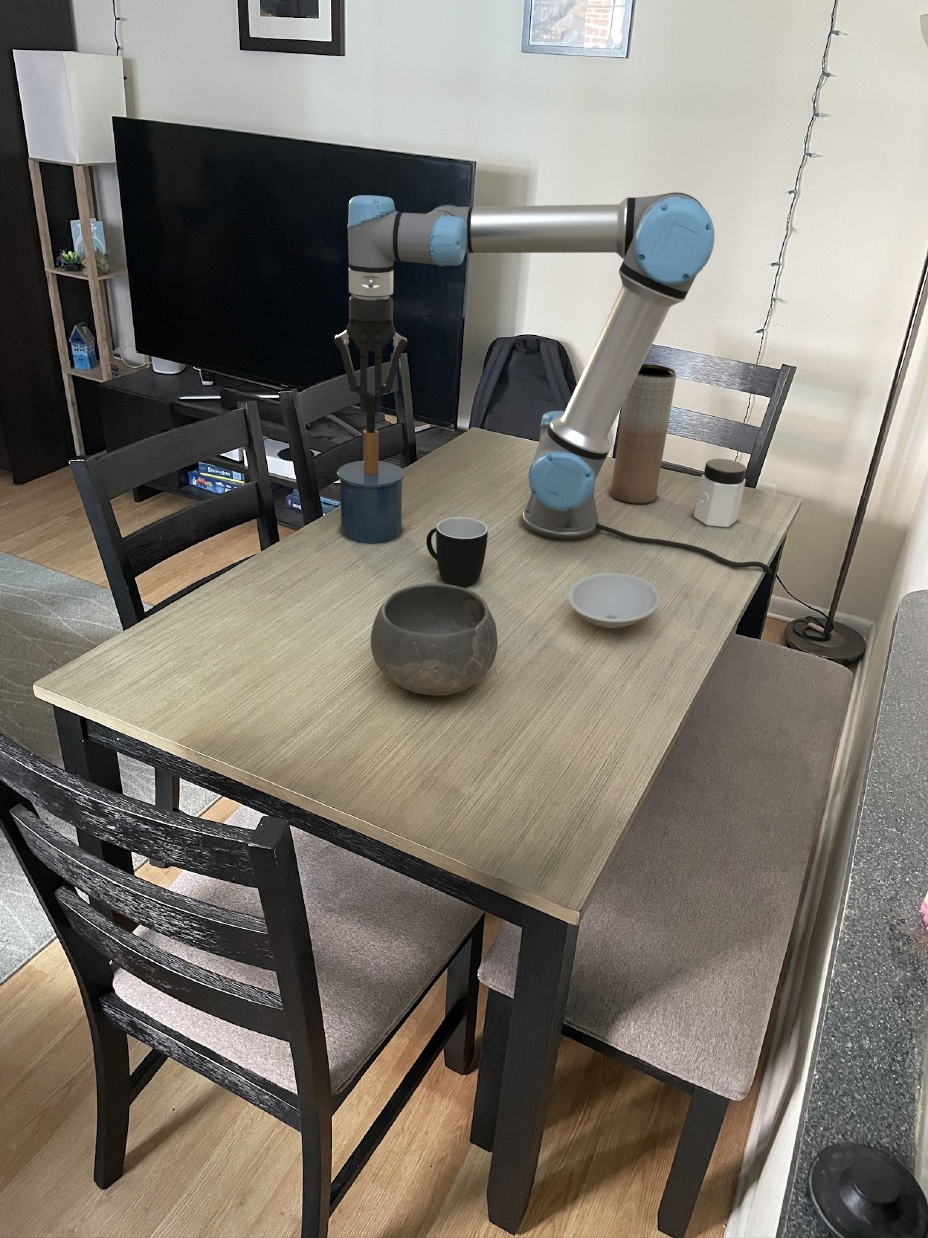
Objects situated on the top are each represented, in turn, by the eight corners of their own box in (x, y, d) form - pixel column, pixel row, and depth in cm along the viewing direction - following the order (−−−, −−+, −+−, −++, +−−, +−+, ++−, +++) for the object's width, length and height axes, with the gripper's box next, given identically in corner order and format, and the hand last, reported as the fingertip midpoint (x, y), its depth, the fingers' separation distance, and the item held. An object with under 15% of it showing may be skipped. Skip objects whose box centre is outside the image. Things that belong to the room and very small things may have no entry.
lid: (417, 479, 170) (419, 432, 165) (370, 496, 162) (370, 447, 157) (371, 461, 177) (371, 416, 172) (323, 477, 169) (322, 429, 164)
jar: (686, 513, 190) (696, 459, 184) (717, 508, 193) (728, 456, 187) (711, 530, 183) (723, 475, 177) (743, 525, 186) (756, 471, 180)
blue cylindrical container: (413, 531, 176) (414, 476, 170) (370, 548, 168) (370, 491, 162) (372, 513, 182) (372, 459, 176) (329, 529, 174) (327, 474, 168)
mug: (494, 578, 160) (498, 526, 155) (464, 596, 154) (467, 543, 148) (441, 558, 166) (443, 507, 161) (410, 574, 159) (412, 522, 154)
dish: (626, 659, 139) (631, 631, 136) (546, 629, 145) (549, 602, 143) (671, 615, 152) (676, 589, 149) (596, 589, 158) (599, 564, 156)
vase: (627, 483, 203) (646, 361, 189) (664, 497, 198) (686, 371, 184) (601, 494, 197) (618, 368, 183) (638, 508, 191) (659, 379, 177)
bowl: (510, 709, 126) (517, 632, 119) (385, 726, 121) (385, 647, 115) (473, 643, 140) (478, 572, 134) (360, 656, 136) (359, 583, 129)
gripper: (331, 298, 149) (334, 434, 161) (409, 301, 150) (406, 436, 162) (333, 289, 155) (336, 421, 167) (408, 292, 156) (406, 423, 168)
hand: (370, 428), depth 164 cm, fingers closed
